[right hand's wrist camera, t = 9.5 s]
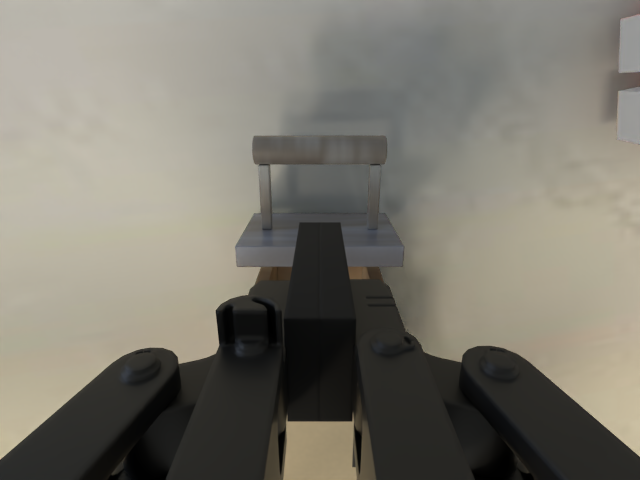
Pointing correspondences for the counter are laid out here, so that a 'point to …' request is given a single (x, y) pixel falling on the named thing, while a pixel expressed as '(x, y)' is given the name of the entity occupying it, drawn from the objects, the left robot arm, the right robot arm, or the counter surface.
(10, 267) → the counter surface
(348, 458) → the cabinet
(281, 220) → the drawer
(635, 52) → the toy
